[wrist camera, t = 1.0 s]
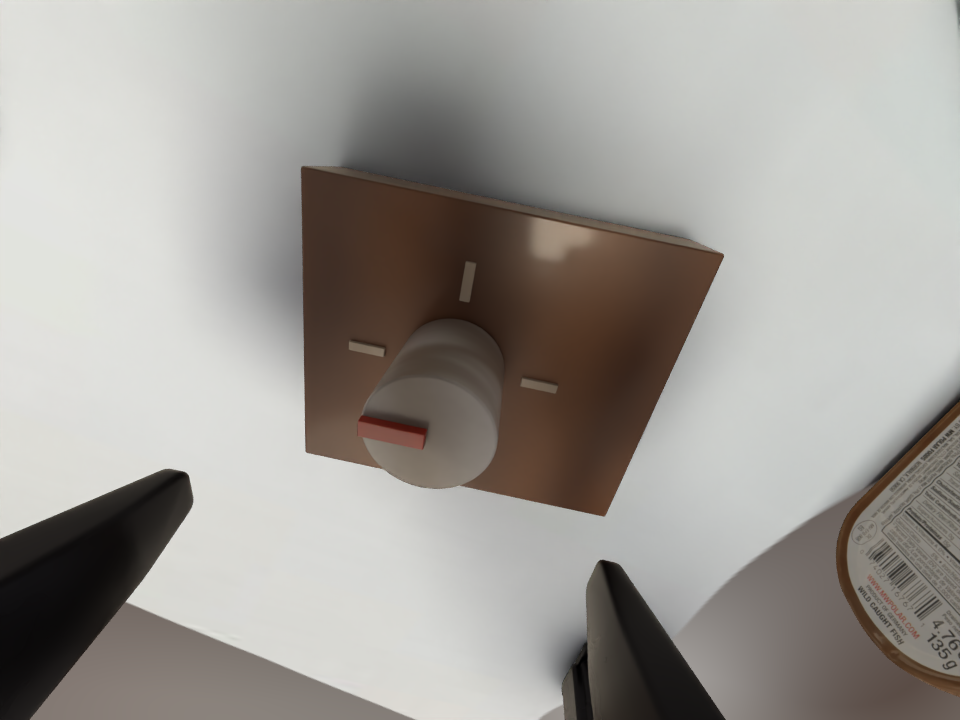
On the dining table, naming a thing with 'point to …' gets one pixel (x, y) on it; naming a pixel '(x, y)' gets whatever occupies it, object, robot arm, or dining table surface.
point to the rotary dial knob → (437, 406)
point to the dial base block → (496, 321)
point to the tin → (910, 558)
